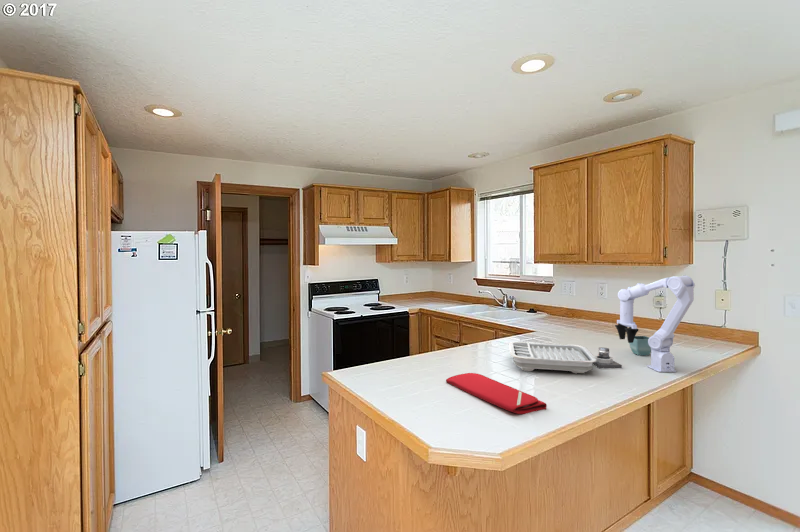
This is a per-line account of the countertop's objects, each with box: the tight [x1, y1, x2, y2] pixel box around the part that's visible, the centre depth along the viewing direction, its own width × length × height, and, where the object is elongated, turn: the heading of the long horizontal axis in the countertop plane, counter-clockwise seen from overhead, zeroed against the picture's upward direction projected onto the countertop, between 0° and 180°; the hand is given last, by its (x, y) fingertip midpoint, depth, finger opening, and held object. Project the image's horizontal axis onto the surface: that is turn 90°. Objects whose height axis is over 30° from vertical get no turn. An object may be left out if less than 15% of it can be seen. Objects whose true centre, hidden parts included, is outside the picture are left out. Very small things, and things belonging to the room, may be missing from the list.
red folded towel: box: [445, 372, 548, 415], centre depth 159 cm, size 16×41×4 cm, turn 27°
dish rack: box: [508, 341, 597, 374], centre depth 196 cm, size 32×37×8 cm
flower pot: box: [628, 335, 651, 356], centre depth 215 cm, size 9×9×9 cm
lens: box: [598, 347, 610, 359], centre depth 198 cm, size 5×5×6 cm
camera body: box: [592, 353, 623, 369], centre depth 198 cm, size 14×10×4 cm
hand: (626, 340), depth 203 cm, fingers open, 7 cm apart
